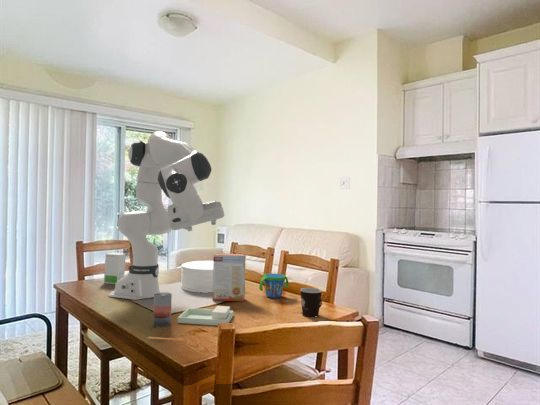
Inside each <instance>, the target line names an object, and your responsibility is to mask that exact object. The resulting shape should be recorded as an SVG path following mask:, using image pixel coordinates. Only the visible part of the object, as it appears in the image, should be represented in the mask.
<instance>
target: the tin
mask: <svg viewBox="0 0 540 405" xmlns="http://www.w3.org/2000/svg"><path fill="white" fill-rule="evenodd" d="M172 295H173V294H172V293H170V292H160V293H156V294H154V297H153V310H152V311H153V312H152V313H153V314H152V316H153V317H152V318H153V320H152V324H153V325H152V326H153V328H155V329H156V328H158V327H159V328H162V327H167V326H168V327H169V326H170V325H171V323H172V298H173V297H172Z"/></svg>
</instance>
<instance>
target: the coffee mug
mask: <svg viewBox="0 0 540 405" xmlns="http://www.w3.org/2000/svg"><path fill="white" fill-rule="evenodd" d="M322 293H323V290H322V289H320V288H315V287H304V288H303V287H302V288H300V300H301V302H300V303H301V314H302V316H303V317H306V318H311V317H313V318H316V317H315V316H318V317H319V313H320V308H321V307H322V305H323V302H322Z"/></svg>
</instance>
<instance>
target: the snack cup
mask: <svg viewBox="0 0 540 405" xmlns="http://www.w3.org/2000/svg"><path fill="white" fill-rule="evenodd" d="M263 283H264V284H263ZM263 285H264V286H263ZM264 288H265V295H266V297H267V298H271V299H277V298H282V296H283V290H284V288H285V289H288V288H289V279H288V277H287V276H286V275H285V274H283V273H265V274H263V277H262V278H261V279H260V281H259V290H260V292H263V291H264V290H263V289H264Z"/></svg>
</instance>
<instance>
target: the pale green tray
mask: <svg viewBox="0 0 540 405" xmlns="http://www.w3.org/2000/svg"><path fill="white" fill-rule="evenodd" d="M213 310H214V309H213V308H212V309H209V308H195V307H194V308H193V307H191V308H190V307H188V308H187V309H185V310H184V311H183V312H182V313H180V315H179V316H178V317H177V324H188V325H189V324H191V325H192V324H193V325H206V326H219V325H218V324H219V323H228V324H229V323H230V322H231V320H232V318H234V310H230V314H229V316H228V317H227V319H226V320H221V319H212V311H213Z"/></svg>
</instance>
